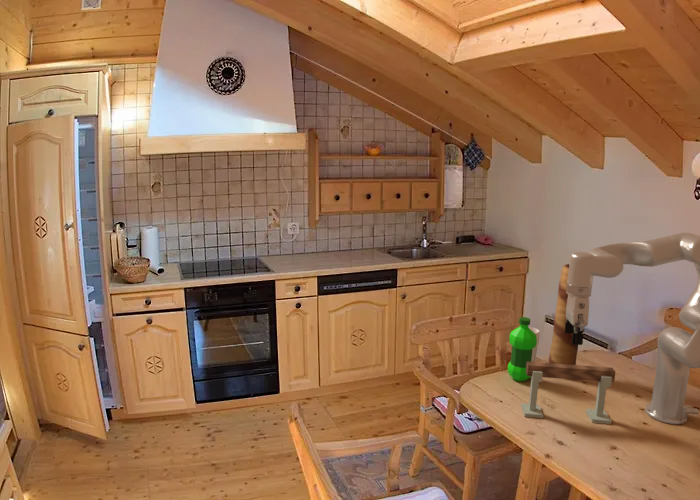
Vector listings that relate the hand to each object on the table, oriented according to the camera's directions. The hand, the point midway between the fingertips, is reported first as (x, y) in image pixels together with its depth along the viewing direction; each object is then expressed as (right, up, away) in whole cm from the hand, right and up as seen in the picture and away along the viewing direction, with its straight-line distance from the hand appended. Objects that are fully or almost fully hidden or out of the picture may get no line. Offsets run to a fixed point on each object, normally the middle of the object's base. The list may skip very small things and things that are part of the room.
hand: (573, 338), depth 174 cm
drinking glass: (+1, -19, +46) cm, 50 cm away
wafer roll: (+12, -21, +38) cm, 45 cm away
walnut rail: (0, -14, +3) cm, 14 cm away
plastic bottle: (-7, -22, +33) cm, 40 cm away
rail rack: (0, -28, +6) cm, 28 cm away
